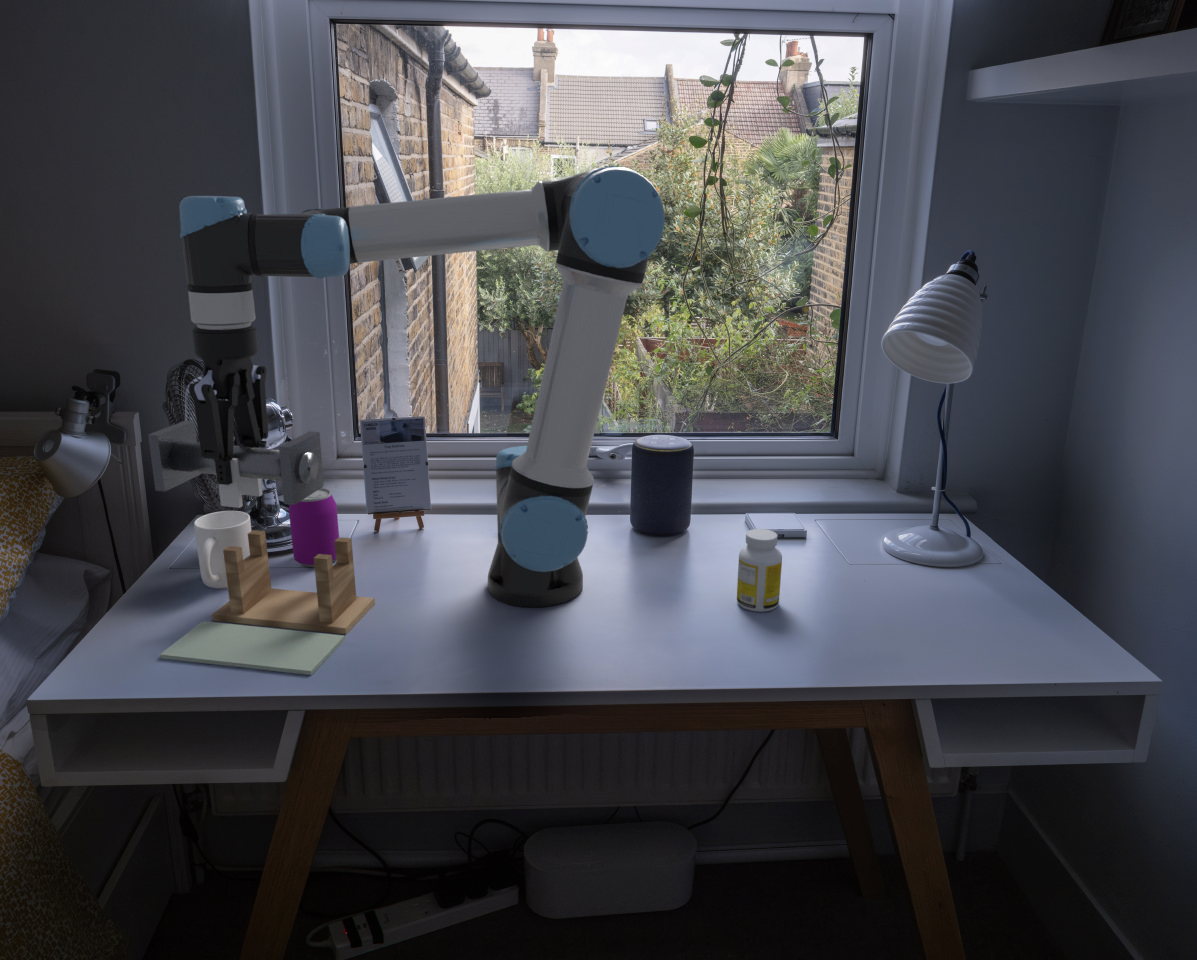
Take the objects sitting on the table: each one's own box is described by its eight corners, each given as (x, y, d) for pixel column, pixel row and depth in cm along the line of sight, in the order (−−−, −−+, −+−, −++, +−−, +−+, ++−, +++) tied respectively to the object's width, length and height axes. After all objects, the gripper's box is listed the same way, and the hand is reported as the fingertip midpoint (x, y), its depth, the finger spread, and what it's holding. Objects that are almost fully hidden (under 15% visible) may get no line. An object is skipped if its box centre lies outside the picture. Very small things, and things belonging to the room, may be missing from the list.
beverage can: (284, 564, 156) (277, 497, 152) (314, 548, 162) (308, 483, 159) (321, 572, 153) (315, 503, 149) (350, 555, 160) (344, 489, 156)
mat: (344, 639, 131) (344, 635, 131) (311, 675, 122) (311, 671, 121) (203, 624, 135) (203, 621, 135) (160, 658, 125) (159, 654, 125)
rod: (327, 486, 124) (323, 432, 122) (297, 505, 117) (292, 447, 115) (188, 473, 129) (182, 420, 126) (152, 490, 122) (144, 434, 119)
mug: (232, 601, 142) (225, 538, 139) (180, 599, 143) (171, 537, 140) (265, 569, 154) (258, 511, 150) (216, 567, 154) (209, 509, 151)
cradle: (375, 604, 142) (370, 537, 138) (346, 634, 132) (340, 563, 129) (249, 591, 145) (241, 526, 142) (212, 620, 136) (203, 551, 133)
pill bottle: (783, 600, 144) (788, 530, 141) (772, 617, 139) (777, 545, 135) (742, 592, 147) (747, 523, 143) (730, 608, 141) (735, 537, 138)
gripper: (236, 313, 125) (252, 478, 132) (152, 333, 109) (176, 519, 116) (287, 316, 123) (300, 483, 131) (209, 336, 108) (229, 524, 115)
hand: (242, 499), depth 124 cm, fingers closed on rod, 4 cm apart
